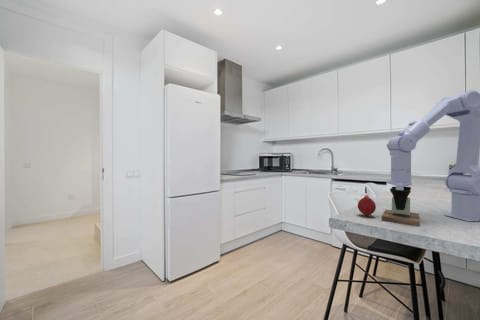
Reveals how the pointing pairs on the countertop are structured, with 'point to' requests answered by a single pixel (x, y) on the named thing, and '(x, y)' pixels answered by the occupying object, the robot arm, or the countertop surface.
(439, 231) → the countertop surface
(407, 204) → the cube
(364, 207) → the onion
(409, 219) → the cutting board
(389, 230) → the countertop surface
